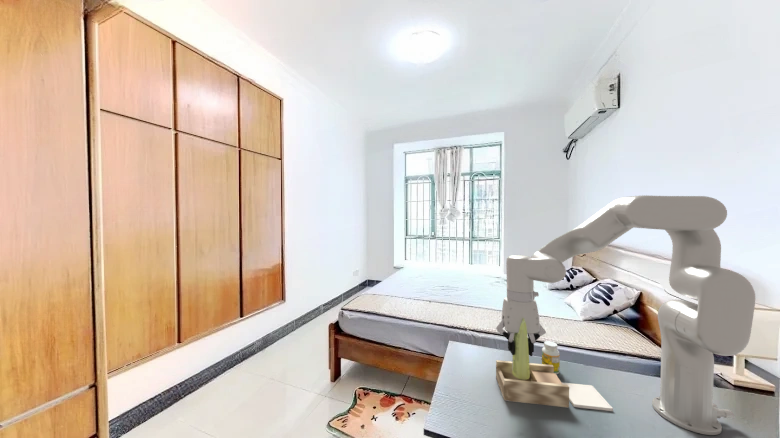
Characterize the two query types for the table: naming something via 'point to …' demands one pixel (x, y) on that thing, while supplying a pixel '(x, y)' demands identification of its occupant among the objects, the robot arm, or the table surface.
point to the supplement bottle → (551, 355)
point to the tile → (586, 397)
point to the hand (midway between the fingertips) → (520, 352)
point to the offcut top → (545, 377)
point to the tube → (521, 354)
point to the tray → (530, 386)
